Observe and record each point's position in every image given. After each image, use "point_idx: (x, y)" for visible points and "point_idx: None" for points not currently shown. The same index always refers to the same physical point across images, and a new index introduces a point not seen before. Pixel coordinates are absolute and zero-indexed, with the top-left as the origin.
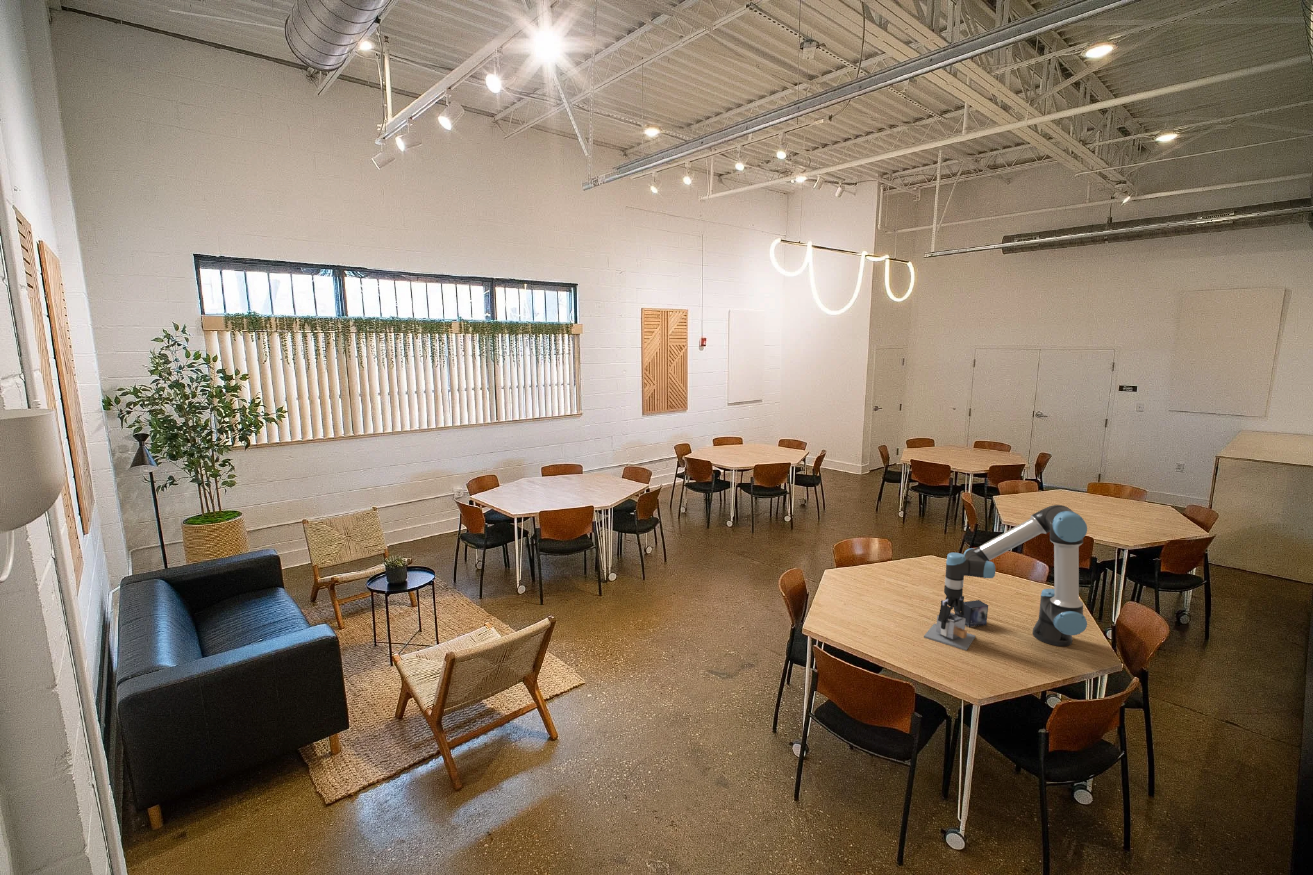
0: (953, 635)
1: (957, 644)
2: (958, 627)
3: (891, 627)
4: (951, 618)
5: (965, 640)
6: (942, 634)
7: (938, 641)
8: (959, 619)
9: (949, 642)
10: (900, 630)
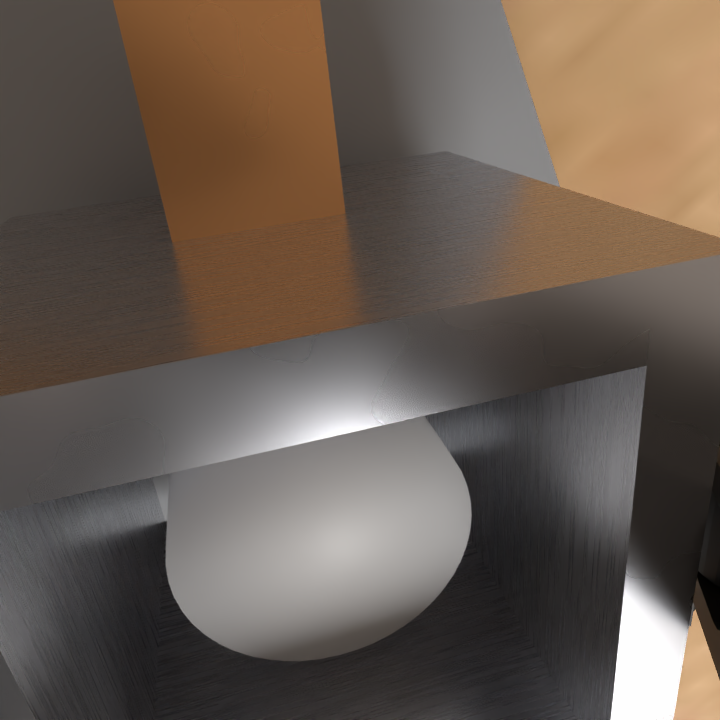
0: (463, 163)
1: (422, 15)
2: (313, 234)
3: (707, 682)
4: (128, 692)
5: (100, 79)
6: None
7: None
8: (207, 446)
9: (496, 148)
10: (693, 622)
